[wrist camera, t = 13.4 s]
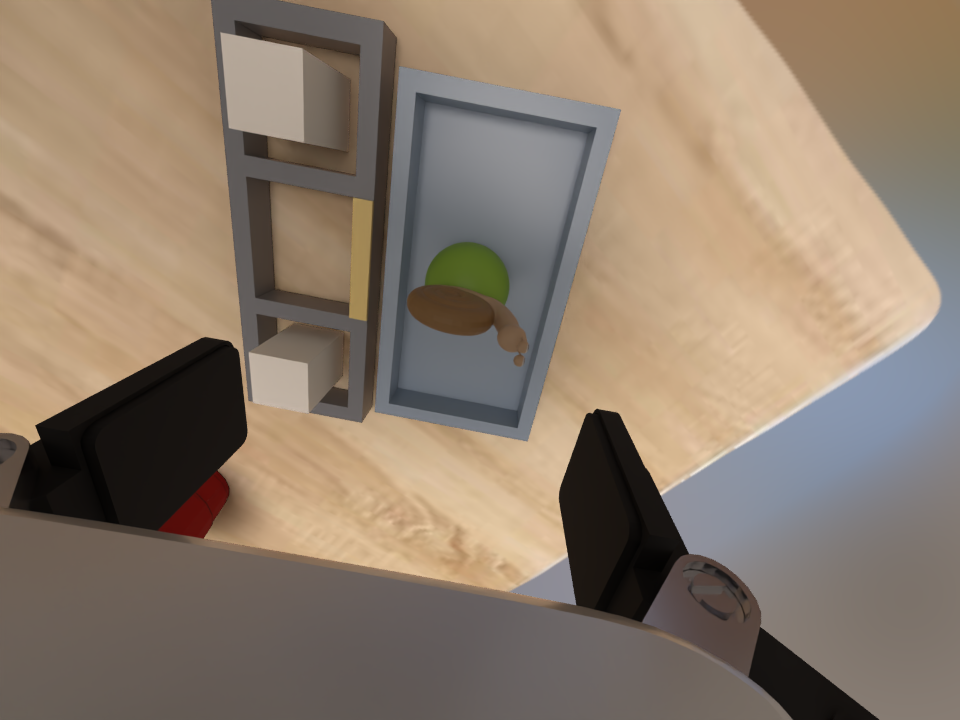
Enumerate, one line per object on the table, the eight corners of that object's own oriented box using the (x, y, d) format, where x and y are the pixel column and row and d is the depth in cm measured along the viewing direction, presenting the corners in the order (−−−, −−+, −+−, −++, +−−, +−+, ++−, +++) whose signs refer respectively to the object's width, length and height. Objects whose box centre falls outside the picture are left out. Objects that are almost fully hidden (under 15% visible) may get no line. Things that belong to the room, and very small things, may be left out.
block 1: (287, 67, 24) (220, 32, 18) (350, 79, 24) (302, 48, 18) (289, 140, 25) (228, 128, 20) (348, 151, 25) (304, 142, 20)
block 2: (295, 322, 31) (248, 352, 25) (343, 332, 31) (307, 363, 26) (296, 366, 33) (253, 402, 27) (342, 375, 33) (308, 413, 27)
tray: (414, 82, 24) (399, 65, 20) (606, 119, 24) (621, 109, 20) (388, 389, 33) (374, 411, 30) (526, 416, 33) (527, 441, 30)
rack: (240, 7, 23) (205, -16, 20) (396, 37, 23) (382, 19, 20) (266, 386, 34) (246, 402, 31) (372, 406, 34) (360, 424, 31)
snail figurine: (512, 324, 28) (511, 410, 18) (428, 303, 28) (374, 378, 17) (532, 251, 26) (546, 297, 15) (440, 228, 26) (388, 259, 15)
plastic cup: (277, 492, 39) (185, 612, 28) (217, 536, 42) (115, 658, 31) (186, 419, 36) (44, 521, 25) (130, 472, 39) (-16, 583, 28)
